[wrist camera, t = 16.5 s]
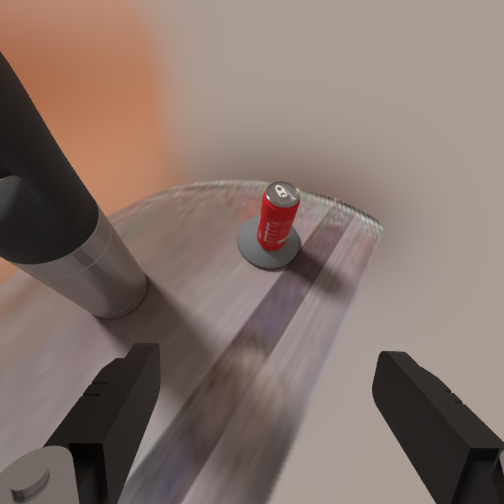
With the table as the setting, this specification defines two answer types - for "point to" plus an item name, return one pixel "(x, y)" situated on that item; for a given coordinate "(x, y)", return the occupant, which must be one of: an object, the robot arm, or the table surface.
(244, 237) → the rubber mat
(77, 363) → the table surface
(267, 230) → the beverage can
